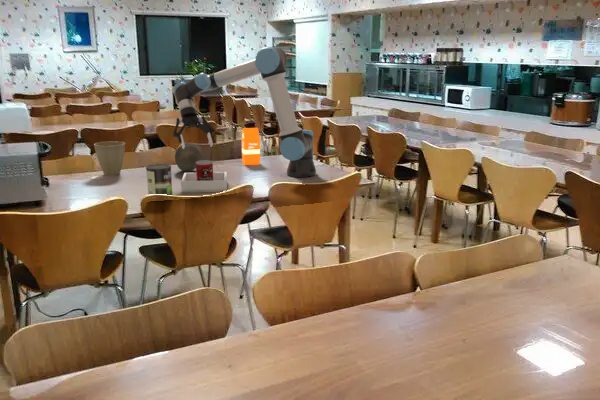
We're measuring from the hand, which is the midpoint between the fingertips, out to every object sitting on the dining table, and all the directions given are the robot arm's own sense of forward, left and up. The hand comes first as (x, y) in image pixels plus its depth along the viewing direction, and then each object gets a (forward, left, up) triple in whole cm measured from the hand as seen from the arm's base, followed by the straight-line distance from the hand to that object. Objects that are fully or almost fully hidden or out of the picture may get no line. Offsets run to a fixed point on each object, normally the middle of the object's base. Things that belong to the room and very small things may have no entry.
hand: (198, 146), depth 254 cm
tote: (-3, +11, -17) cm, 21 cm away
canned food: (-3, +10, -17) cm, 20 cm away
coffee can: (+15, +29, -18) cm, 37 cm away
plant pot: (+45, -21, -18) cm, 53 cm away
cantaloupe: (+7, -23, -18) cm, 30 cm away
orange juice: (-26, -41, -18) cm, 52 cm away
